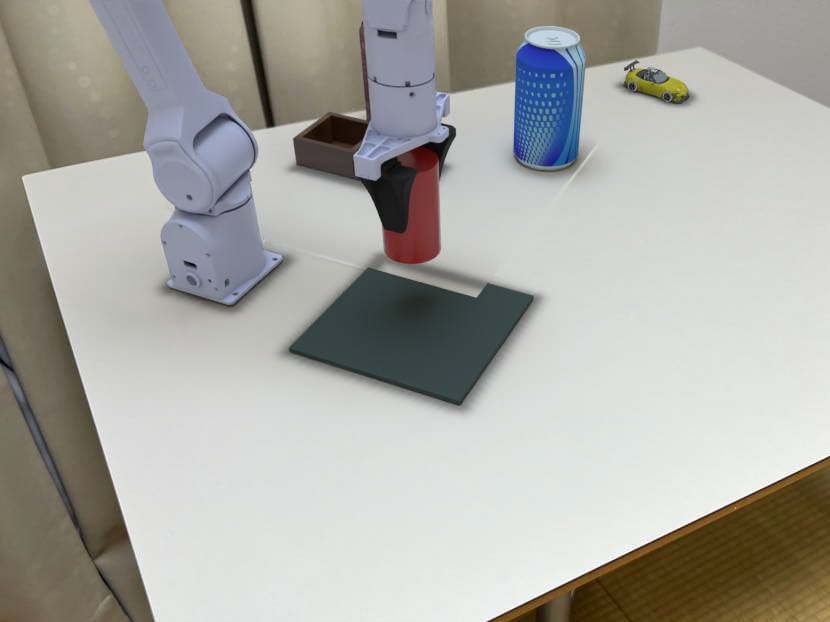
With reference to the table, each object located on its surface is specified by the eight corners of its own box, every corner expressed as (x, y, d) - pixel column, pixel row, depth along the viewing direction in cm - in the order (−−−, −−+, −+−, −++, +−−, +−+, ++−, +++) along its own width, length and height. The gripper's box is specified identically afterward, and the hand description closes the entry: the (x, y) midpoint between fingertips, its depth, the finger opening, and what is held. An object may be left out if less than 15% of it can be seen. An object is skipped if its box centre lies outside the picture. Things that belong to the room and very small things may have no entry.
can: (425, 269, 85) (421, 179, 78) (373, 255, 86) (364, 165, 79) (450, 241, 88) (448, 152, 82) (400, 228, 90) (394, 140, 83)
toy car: (678, 106, 130) (681, 86, 128) (618, 88, 134) (621, 68, 132) (693, 94, 133) (696, 75, 131) (634, 77, 137) (637, 57, 135)
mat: (459, 405, 81) (459, 401, 80) (289, 351, 85) (288, 347, 85) (533, 299, 93) (533, 295, 93) (381, 257, 97) (381, 253, 97)
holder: (411, 198, 107) (409, 167, 104) (297, 168, 111) (292, 138, 108) (442, 168, 113) (441, 137, 110) (332, 141, 117) (329, 111, 114)
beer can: (501, 165, 114) (503, 39, 103) (531, 139, 120) (537, 18, 109) (559, 182, 112) (568, 55, 101) (588, 156, 117) (599, 33, 106)
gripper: (404, 116, 69) (412, 263, 79) (479, 52, 79) (479, 189, 89) (324, 98, 71) (342, 244, 80) (408, 38, 81) (415, 174, 90)
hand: (409, 214), depth 85 cm, fingers closed on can, 5 cm apart
